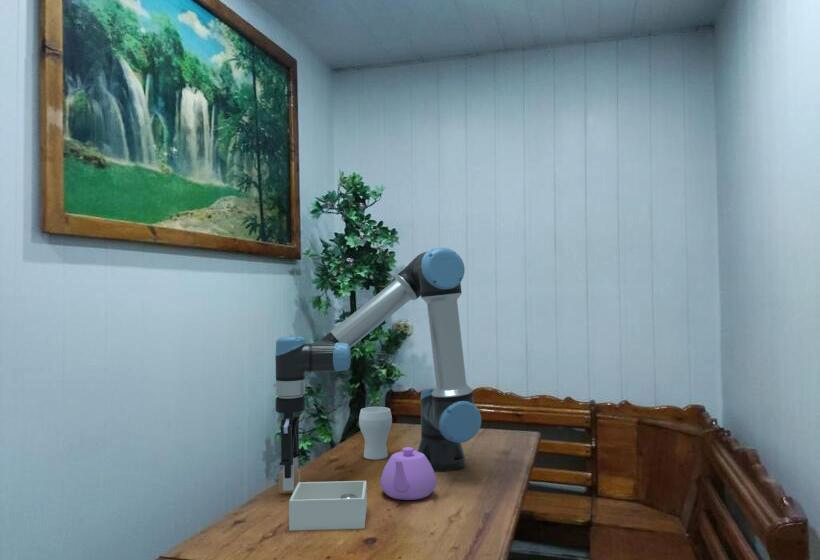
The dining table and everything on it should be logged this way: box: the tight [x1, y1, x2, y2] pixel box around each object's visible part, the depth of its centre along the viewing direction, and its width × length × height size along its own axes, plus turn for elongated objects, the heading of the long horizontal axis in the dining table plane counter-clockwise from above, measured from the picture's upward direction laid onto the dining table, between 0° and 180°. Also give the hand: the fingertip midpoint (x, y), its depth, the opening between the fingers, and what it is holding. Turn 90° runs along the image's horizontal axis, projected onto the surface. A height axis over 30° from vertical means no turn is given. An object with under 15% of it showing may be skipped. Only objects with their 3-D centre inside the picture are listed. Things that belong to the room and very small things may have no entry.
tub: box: [288, 480, 368, 532], centre depth 120 cm, size 16×12×7 cm
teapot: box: [380, 446, 437, 501], centre depth 135 cm, size 20×14×12 cm
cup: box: [358, 406, 393, 460], centre depth 173 cm, size 11×11×15 cm
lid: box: [278, 468, 302, 494], centre depth 139 cm, size 22×13×6 cm, turn 92°
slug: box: [340, 494, 356, 498], centre depth 123 cm, size 4×4×4 cm
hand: (290, 486), depth 139 cm, fingers open, 5 cm apart
